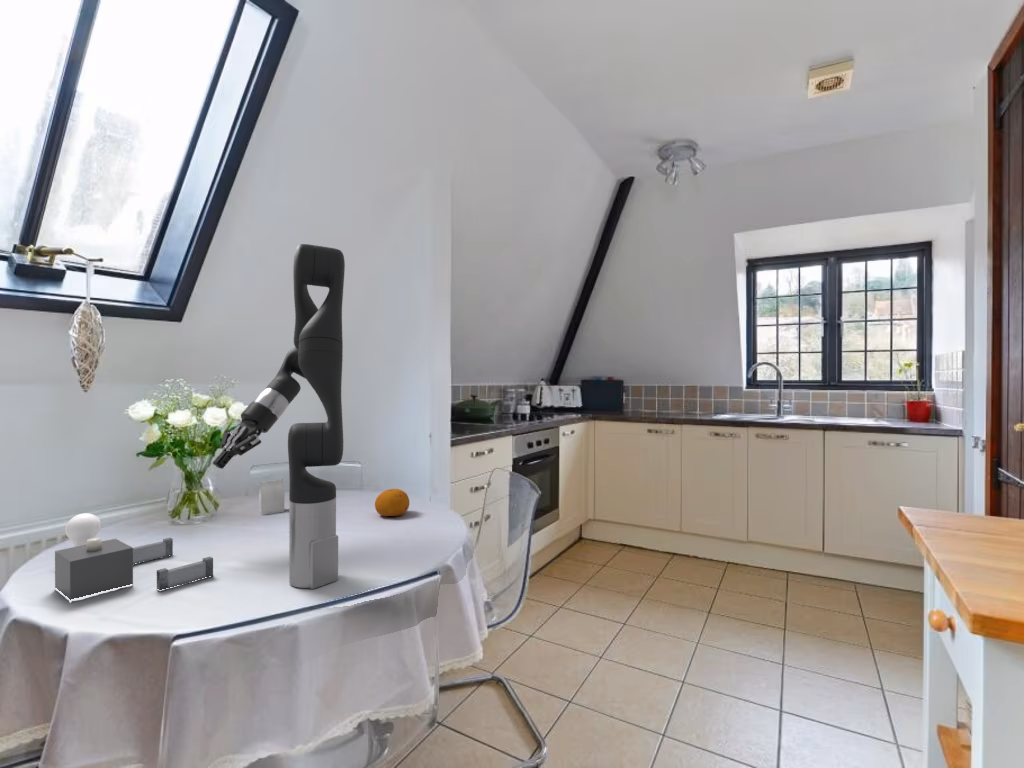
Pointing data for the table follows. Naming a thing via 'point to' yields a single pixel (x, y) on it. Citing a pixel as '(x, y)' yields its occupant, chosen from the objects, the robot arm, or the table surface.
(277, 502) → the grey rectangular block
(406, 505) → the fruit
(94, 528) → the lightbulb
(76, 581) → the plug block
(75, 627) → the table surface
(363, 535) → the table surface
